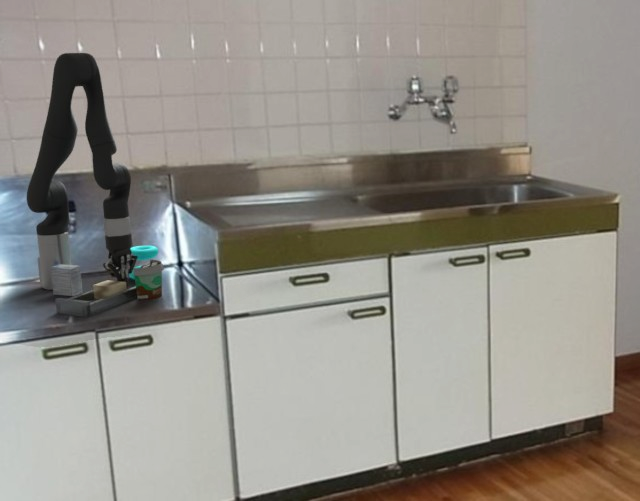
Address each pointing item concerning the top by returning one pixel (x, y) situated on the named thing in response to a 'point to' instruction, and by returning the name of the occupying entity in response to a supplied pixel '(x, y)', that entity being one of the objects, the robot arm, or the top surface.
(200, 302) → the top surface
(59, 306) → the chute
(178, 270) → the top surface
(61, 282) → the medicine box
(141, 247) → the donuts
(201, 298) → the top surface
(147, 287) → the food container
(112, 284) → the beech block
